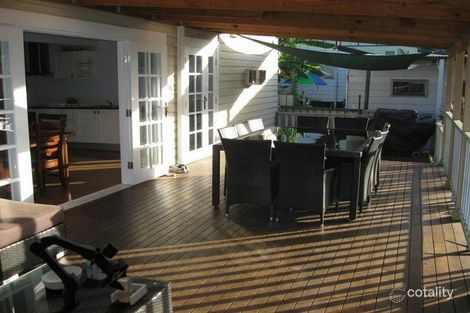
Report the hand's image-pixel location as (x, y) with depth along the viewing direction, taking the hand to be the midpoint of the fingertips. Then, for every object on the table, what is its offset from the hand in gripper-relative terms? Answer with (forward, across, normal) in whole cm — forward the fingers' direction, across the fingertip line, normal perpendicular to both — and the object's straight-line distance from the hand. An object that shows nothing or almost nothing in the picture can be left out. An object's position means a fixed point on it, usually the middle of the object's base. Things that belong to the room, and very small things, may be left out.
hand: (127, 287), depth 231 cm
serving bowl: (-28, +10, +38) cm, 49 cm away
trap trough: (+4, +3, +6) cm, 7 cm away
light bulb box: (-19, +23, +28) cm, 41 cm away
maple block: (+4, 0, +6) cm, 7 cm away
